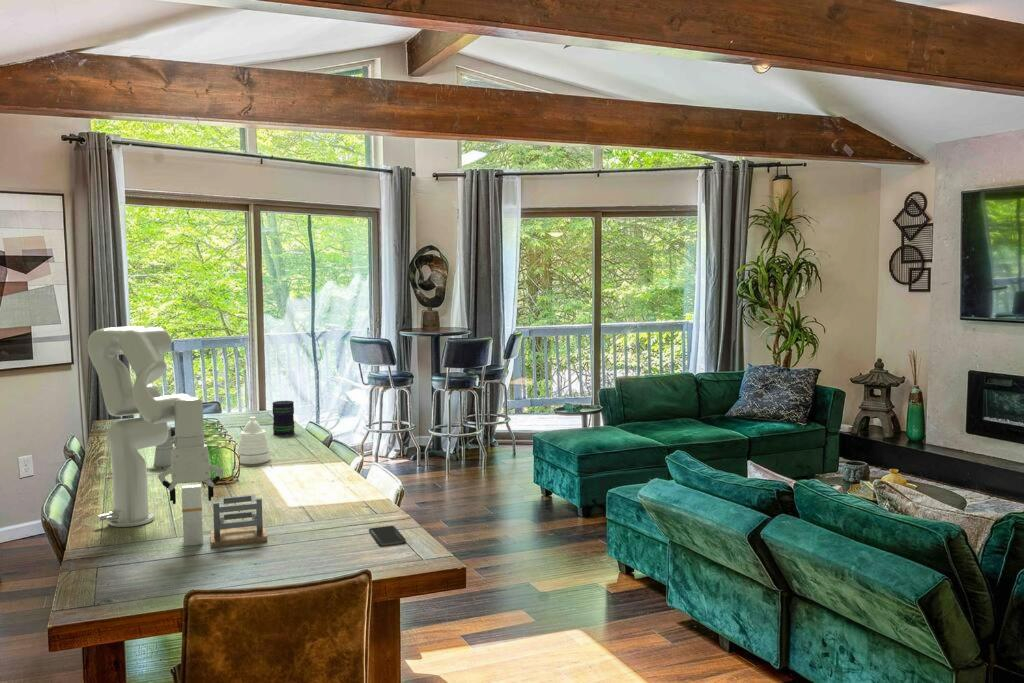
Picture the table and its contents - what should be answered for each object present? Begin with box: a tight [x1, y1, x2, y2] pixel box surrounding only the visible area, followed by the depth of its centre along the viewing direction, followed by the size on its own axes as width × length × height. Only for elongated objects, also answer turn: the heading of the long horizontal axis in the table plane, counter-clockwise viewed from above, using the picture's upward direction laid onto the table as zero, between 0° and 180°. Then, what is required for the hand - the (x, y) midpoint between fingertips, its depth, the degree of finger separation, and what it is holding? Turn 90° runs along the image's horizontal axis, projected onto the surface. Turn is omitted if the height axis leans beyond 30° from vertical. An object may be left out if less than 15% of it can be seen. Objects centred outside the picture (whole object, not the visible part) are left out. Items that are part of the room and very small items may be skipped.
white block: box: [181, 484, 204, 547], centre depth 231 cm, size 5×5×16 cm
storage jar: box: [272, 400, 296, 437], centre depth 385 cm, size 10×10×15 cm
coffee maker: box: [153, 425, 175, 468], centre depth 324 cm, size 15×9×18 cm, turn 76°
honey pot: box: [236, 416, 271, 465], centre depth 331 cm, size 13×13×18 cm
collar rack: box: [210, 494, 268, 548], centre depth 234 cm, size 15×11×11 cm
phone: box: [368, 525, 407, 548], centre depth 235 cm, size 8×1×15 cm
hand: (192, 501), depth 230 cm, fingers open, 9 cm apart
